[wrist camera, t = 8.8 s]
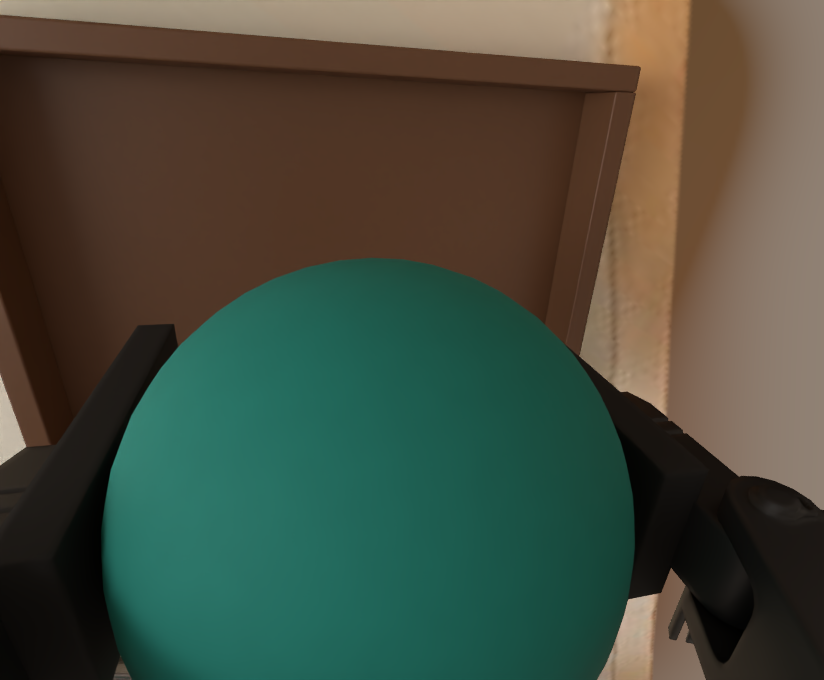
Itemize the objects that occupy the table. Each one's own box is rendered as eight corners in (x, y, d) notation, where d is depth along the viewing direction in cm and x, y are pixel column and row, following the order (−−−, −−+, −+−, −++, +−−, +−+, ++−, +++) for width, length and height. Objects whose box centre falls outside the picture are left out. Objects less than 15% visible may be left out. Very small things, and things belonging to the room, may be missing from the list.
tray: (537, 410, 25) (561, 440, 23) (71, 455, 21) (44, 498, 18) (598, 71, 19) (642, 66, 17) (-66, 20, 14) (-135, 3, 12)
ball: (487, 485, 14) (676, 849, 7) (198, 523, 13) (86, 1046, 6) (527, 212, 11) (948, 402, 4) (138, 211, 9) (-336, 551, 2)
